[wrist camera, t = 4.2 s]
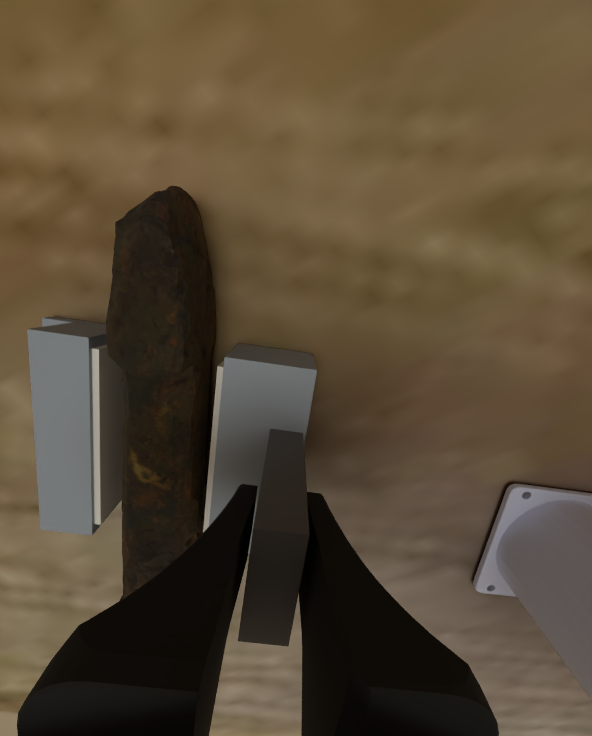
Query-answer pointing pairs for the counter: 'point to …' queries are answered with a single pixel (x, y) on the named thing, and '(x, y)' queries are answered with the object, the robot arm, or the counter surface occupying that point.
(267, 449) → the free jaw
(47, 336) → the fixed jaw
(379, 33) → the counter surface
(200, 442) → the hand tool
